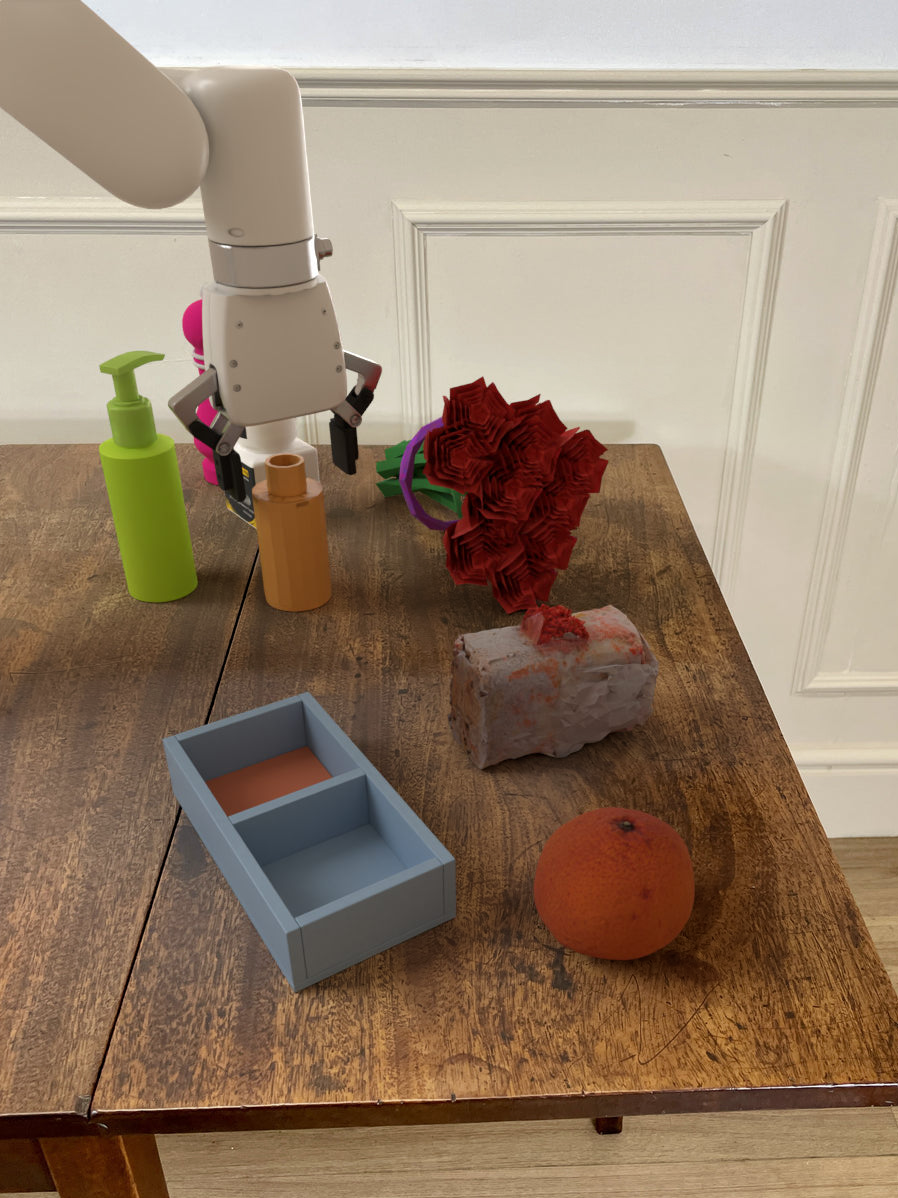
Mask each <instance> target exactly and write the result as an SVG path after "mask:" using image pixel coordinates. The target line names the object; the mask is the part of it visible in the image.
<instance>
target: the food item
mask: <svg viewBox="0 0 898 1198" xmlns="http://www.w3.org/2000/svg"><path fill="white" fill-rule="evenodd" d="M525 610H526V611H525V615H523V616H522V620H521V623H520V624H519V625H514V626H513V625H511V626H505V627H500V628H492V629H487V630H479V631H477V632H475V633H474V632H468V633H465V634H462V633H461V634H459V635H458V638H457V639H456V640H455V641H454V643H453V645H454V649H453V651H452V656H453V657H452V659H451V662H450V674H451V677H452V678H451V679H450V681H449V703H448V704H449V705H450V712H449V713H448V714H447V723H448V727H449V729H450V731H451V733H452V735H451V736H452V737H453V739H454V740H455V741H456V743H457V744H459V745H460V746H461V748H463V750H464V752H465V753H466V755H467V756H468V757H469V758H470V759H469V760H471V761H472V763H473V764H474V765H475V766H476V768H478V769H479V770H483V769H486V768H487V767H490V766H495V765H497V764H498V763H501V762H503V761H505V760H510V759H512V760H516V759H518V758H521V757H524V756H528V755H530V754H537V753H540V754H544V755H546V756H549V757H553V758H555V759H559V758H561V759H562V758H567V757H568V756H569V755H570V754H573V753H575V752H579V751H580V750H581V749H582V748H583V746H584V745H585V744H594V743H597V742H600V741H602V740H603V739H604V738H605V737H607V736H608V734H611V733H618V732H619V733H621V732H622V733H630V731H632V730H633V729H634V727H635V726H637V725H638V726H639V725H640V726H644V724H645V723H646V722H647V720H648V719H650V718H651V716H652V715H653V714H654V708H653V703H654V701H655V688H656V686H657V679H658V677H659V672H660V671H659V670H660V668H659V665H660V661H659V660H658V659H657V658H656V655H655V653H654V652H653V651H652V650H650V644H649V643H648V641H647V640H646V638H645V637H644V636H643V634H642V633H641V631H640V630H639V629H638V628H637V627H636V626H635V624H633V622H632V621H631V620H630V619H629V618H628V616H627V615H626V613H624V612H622V611H621V610H620V609H618V608H616V607H615V606H614V605H613V604H608V605H605V606H603V607H600V608H592V609H590V610H582V611H578V612H574V613H572V610H573V609H569V608H567V607H566V606H564V605H560V604H557V605H555V606H552V607H551V606H549V605H547V604H545V603H541V604H540V607H539V606H538V607H537V608H529V609H525Z"/></svg>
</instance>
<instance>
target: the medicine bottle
mask: <svg viewBox="0 0 898 1198" xmlns="http://www.w3.org/2000/svg"><path fill="white" fill-rule="evenodd" d="M234 450H235V451H236V452H237V453H238V454H239V455H240V458H241V464H242V471H243V478H244V484H245V491H246V499H245V500H244V501H242V502H237V501H236V500H235V499H233V498H232V497H231V496H230V495H229V494H228V493H227V492H226V491H224V497H225V505H226V508H227V510H228V511H230V512H231V513H232V514H234V515H236V516H237V517H238V518H239V519H241V520H243V522H245V523H246V524H248V525H250V526H251V527H252V528H254V530H257V529H256V521H255V513H254V506H253V498H252V488H253V487H254V486H255V485H256V484H257V483H259V482H262V481H264V480H266V471H265V460H266V458H268V457H270V456H272V455H276V454H281V453H293V454H297V455H300V456H302V457H303V458H304V461H305V471H306V477H309V478H312V479H315V480H317V481H318V482H320V483H321V481H320V471H319V458H318V457H319V456H318V450H317V448H316V447H314V446H312V445H311V444H309V443H308V442H306V441H304V440H302V439H300V438H299V437H298V426H297V417H296V418H291V419H287V420H282V421H277V422H272V423H267V424H262V425H256V426H249V427H245V429H244V430H243V432H242V434H241V436H240V437H239V439H238V441H237V442H236V444H235V446H234Z"/></svg>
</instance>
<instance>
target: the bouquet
mask: <svg viewBox="0 0 898 1198" xmlns="http://www.w3.org/2000/svg"><path fill="white" fill-rule="evenodd" d="M541 396H542V395H541V393H539V394H536V395H535V396H532V397H530V398H528V399H525V400H519V401H518V400H517V401H514V402H513V401H512V402H510V403H509V402H507V401H506V399H505V397H504V396H503V395H502V394H501V392H500V390H499V389H498V388H497V386H496V384H495V382H494V381H491V383H490V384H489V385H487V383H486V380H485V377H484V375H483V376H481V377H479V378H477V379H476V380H474V381H473V382H470V383H465V384H461V385H457V386H453V387H449V398H448V397H447V396H446V395H442V399H443V403H444V405H443V409H442V415H441V416H440V417H438V418H436V419H434V420H432V421H430V422H429V423H426V424H425V425H423V426H421V427H420V429H419V430H418V431H417V432H416V433H415V435H414V436H413V437H412V438H411V439H408V440H406V439H404V440H401V441H400V442H398V443H397V444H395V445H393V446H391V447H388V448H385V449H384V457H385V459H384V460H380V461H375V464H376V465H375V472H376V474H378V475H379V476H380V477H382V479H384V480H381V481H378V482H375V485H376V486H377V488H378V489H379V491H380V493H381V494H382V495H383V496H384V498H390V497H397V496H401V495H403V497H404V500H405V502H406V503H405V504H406V505H407V508H408V510H409V512H410V516H412V517H413V518H415V519H416V520H417V521H419V523H421V524H423V526H425V527H426V528H428V529H429V530H431V531H438V532H444V535H443V538H442V543H443V544H442V545H443V548H444V550H445V552H446V554H445V568H446V569H447V570H448V572H449V575H450V576H449V577H451V578H452V581H453V582H454V584H455V585H456V586H457V585H466V584H469V585H475V586H477V585H478V586H482V587H488V586H489V584H488V583H490V584H491V590H492V597H493V598H494V599H495V600H496V601H497V603H499V605H500V607H501V608H503V610H504V611H505V612H506V613H507V615H509V614H511V613H514V612H517V611H520V610H528V609H529V608H537V607H538V608H539V606H538V603H537V601H540V602H544V603H548V602H549V598H550V593H551V589H552V587H553V586H554V584H555V581H556V579H557V577H558V576H559V571H557V570H562V571H567V569H568V567H569V564H570V560H571V557H572V553H573V549H574V547H575V545H576V544H577V542H578V537H576V536H574V535H572V532H571V531H574V530H578V529H579V528H580V525H581V519H582V515H583V513H584V510H585V508H586V506H587V504H588V502H589V499H590V498H592V497H591V494H600V492H601V487H602V481H603V476H604V474H605V471H606V469H607V467H608V466H609V465H608V464H609V459H605V458H603V457H602V458H601V456H602V455H604V454H605V453H606V452H608V451H609V449H608V448H607V447H606V446H605V445H603V443H601V442H600V441H599V440H597V438H595V436H594V435H593V433H592V431H591V430H590V429H587V428H586V429H584V430H581V431H579V430H580V429H581V427H580V426H577V427H573V428H570V429H568V427H567V425H565V424H564V423H563V421H562V420H561V419H560V417H559V415H558V413H557V412H556V410H555V409H554V406H553V405H552V402H551V400H550V399H545V400H544V401H542V402H540V400H541ZM578 431H579V432H578ZM415 493H419V494H422V495H424V496H426V497H428V498H430V499H431V500H433V501H435V502H437V503H439V504H441V505H442V506H444V507H446V508H447V509H449V510H451V511H452V512H454V513H456V514H457V516H458V519H453V520H447V521H444V520H441V519H438V518H436V517H433V516H431V515H430V514H429V513H427V512H426V510H425V509H424V507H423V506H422V504H421V503H420V501H419V500H418V498H417V497H416V495H415ZM461 497H464V499H463V501H462V499H461ZM536 600H537V601H536Z"/></svg>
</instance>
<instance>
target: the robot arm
mask: <svg viewBox="0 0 898 1198" xmlns="http://www.w3.org/2000/svg"><path fill="white" fill-rule="evenodd" d="M0 109H1V110H3V112H5V113H7V114H8V116H10V117H11V118H13V120H16V122H18V123H19V124H21V125H22V126H24V127H25V129H27V130H28V131H30V132H31V133H32V134H33V135H34V136H36V137H37V138H38V139H40V140H41V141H42V142H44V143H45V144H46V145H47V146H48V147H50V148H51V149H53V150H54V151H55V152H57V153H58V154H59V155H61V156H62V157H63V158H64V159H65V160H67V161H68V162H69V163H71V164H72V165H73V166H75V167H76V168H77V169H78V170H79V171H81V172H82V173H83V174H84V175H86V176H87V177H88V178H90V179H91V180H92V181H93V182H95V183H96V184H97V185H99V186H100V187H101V188H103V189H104V190H105V191H106V192H108V193H109V194H111V195H112V196H114V197H115V198H117V199H118V200H120V201H121V202H124V203H126V204H127V205H131V206H132V207H133V206H134V207H137V208H141V209H147V210H162V209H167V208H168V209H169V208H172V207H175V206H177V205H179V204H181V203H184V202H185V201H187V199H189V198H191V197H192V195H194V193H195V192H196V191H197V190H198V189H199V190H200V196H201V202H202V209H203V210H202V211H203V215H204V223H205V230H206V236H207V242H208V248H209V256H210V261H211V263H210V264H211V268H212V275H213V281H212V282H208V283H207V282H206V283H207V284H205V285H204V287H203V300H202V328H203V349H204V363H205V372H204V373H203V374H201V375H198V377H196V378H195V379H194V380H192V381H191V382H189V383H188V384H187V385H185V386H184V387H183V388H182V389H180V390H179V391H177V392H176V393H174V395H172V396H171V397H170V398H169V399H168V401H167V406H168V409H169V410H170V411H171V412H172V413H173V415H174V416H175V417H176V419H177V420H178V421H179V422H180V424H181V425H182V426H183V427H184V428H185V430H186V431H187V433H189V434H190V435H191V436H192V437H193V436H194V437H195V438H196V439H198V440H199V441H201V442H202V443H204V444H205V445H207V446H208V447H210V448H211V449H212V452H213V458H214V464H215V470H216V476H217V482H218V485H219V486H218V485H217V486H218V487H219V489H221V491H223V492H225V491H226V492H227V493H228V494H229V495H230V496H231V497H232V498H233V499H235V500H236V501H237V502H242V501H244V500H245V499H246V491H245V484H244V478H243V471H242V464H241V458H240V455H239V454H238V453H237V452H236V451H235V450H234V446H235V444H236V442H237V441H238V439H239V437H240V436H241V434H242V432H243V430H244V429H245V427H249V426H256V425H262V424H267V423H272V422H277V421H282V420H287V419H291V418H296V419H297V418H300V417H305V416H310V415H314V414H319V413H323V412H328V411H330V412H331V413H332V414H333V417H331V418H329V422H328V427H329V428H328V429H329V437H330V439H329V440H330V448H331V459H332V464H333V465H334V466H335V467H336V468H338V469H339V470H340V471H342V472H343V473H344V474H346V475H349V476H355V475H356V474H357V462H356V461H357V460H359V457H360V455H359V454H360V453H359V444H358V443H359V441H358V431H357V429H358V427H360V426H361V424H362V422H363V418H362V417H363V415H364V414H365V412H366V411H367V410H368V408H369V407H370V405H371V404H372V402H374V399H375V393H374V392H375V390H376V389H377V386H378V384H379V381H380V378H381V376H382V373H383V367H382V366H381V364H379V363H377V362H376V361H374V360H372V359H369V358H366V357H364V356H361V355H359V354H356V353H353V352H350V351H347V350H345V349H344V347H343V341H342V336H341V335H342V334H341V330H340V326H339V321H338V316H337V311H336V309H335V305H334V301H333V297H332V293H331V291H330V290H331V289H330V286H329V284H328V281H327V278H326V277H325V276H323V275H322V274H320V273H319V272H321V261H323V260H324V259H325V258H327V259H328V258H331V257H333V252H334V249H333V244H332V241H331V240H330V238H328V237H324V238H321V237H318V234H317V233H315V226H314V225H315V224H314V216H313V207H312V196H311V195H312V194H311V185H310V183H311V182H310V174H309V162H308V153H307V141H306V131H305V122H304V121H305V120H304V110H303V109H304V108H303V101H302V95H301V89H300V86H299V83H298V81H297V79H296V78H295V77H294V75H293V74H292V73H290V71H288V70H287V69H284V68H282V67H278V66H272V65H266V64H265V65H264V64H223V65H212V66H207V67H203V68H199V69H198V70H189V69H177V68H176V69H175V68H163V67H157V66H156V65H155V64H154V63H153V62H152V61H150V60H149V59H148V58H147V57H145V56H144V55H143V54H142V53H141V52H140V51H139V50H137V48H136V47H134V46H133V45H132V44H131V43H130V42H128V41H127V40H126V39H125V38H124V37H123V36H122V35H121V34H120V33H119V32H117V31H116V30H115V29H114V28H113V27H112V26H111V25H109V23H107V22H106V21H105V20H104V19H103V18H101V16H99V15H98V14H97V13H96V12H95V11H94V10H93V9H91V8H90V7H89V6H88V5H87V4H86V3H84V1H83V0H0ZM347 370H348V371H352V372H354V373H357V379H356V384H355V385H354V386H353V387H352V388H351V390H350V391H349V392H348V378H347V377H348V376H347ZM208 398H209V400H210V403H211V406H212V407H213V408H214V409H215V410H217V411H218V413H217V414H216V416H215V418H214V420H213V421H212V423H211V425H210V426H207V425H206V424H204V423H203V422H202V421H201V420H200V419H199V417H198V416H197V414H196V413H197V409H198V406H199V405H200V404H201V403H202V402H204V401H205V400H206V399H208ZM194 437H193V438H194Z"/></svg>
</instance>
